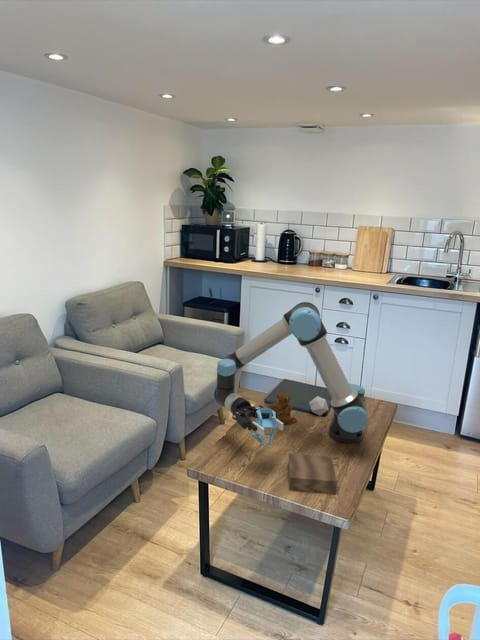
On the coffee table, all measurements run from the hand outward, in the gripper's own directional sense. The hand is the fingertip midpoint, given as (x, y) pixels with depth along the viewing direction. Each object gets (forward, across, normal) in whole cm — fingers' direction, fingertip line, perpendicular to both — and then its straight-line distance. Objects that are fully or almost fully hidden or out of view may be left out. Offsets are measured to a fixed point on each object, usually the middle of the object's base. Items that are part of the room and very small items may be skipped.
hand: (273, 429), depth 168 cm
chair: (-5, 0, -7) cm, 8 cm away
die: (-29, -52, -18) cm, 62 cm away
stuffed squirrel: (-31, -30, -18) cm, 47 cm away
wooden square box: (+10, -11, -18) cm, 23 cm away
